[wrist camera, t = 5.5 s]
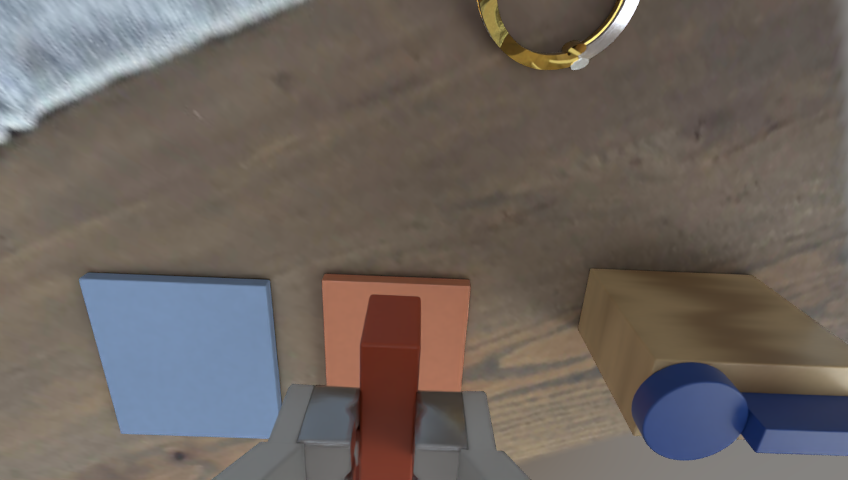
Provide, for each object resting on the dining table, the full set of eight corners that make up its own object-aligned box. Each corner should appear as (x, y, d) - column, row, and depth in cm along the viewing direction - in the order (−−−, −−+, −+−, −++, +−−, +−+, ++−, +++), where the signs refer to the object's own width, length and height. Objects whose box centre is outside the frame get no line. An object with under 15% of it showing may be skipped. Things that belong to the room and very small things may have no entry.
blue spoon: (869, 367, 19) (917, 404, 17) (830, 443, 20) (870, 484, 18) (642, 359, 18) (666, 394, 17) (621, 436, 20) (641, 476, 18)
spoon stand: (752, 274, 26) (881, 368, 19) (730, 335, 28) (841, 444, 20) (589, 267, 26) (655, 359, 18) (577, 329, 27) (633, 436, 20)
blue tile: (270, 279, 26) (265, 286, 25) (284, 430, 30) (281, 439, 30) (87, 271, 26) (77, 278, 25) (127, 424, 30) (120, 434, 30)
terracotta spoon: (309, 289, 11) (286, 340, 9) (480, 297, 11) (492, 349, 9) (320, 547, 14) (305, 621, 13) (450, 551, 15) (455, 625, 13)
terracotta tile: (469, 279, 26) (471, 286, 25) (456, 418, 30) (457, 427, 29) (324, 273, 26) (321, 280, 25) (330, 413, 30) (328, 423, 29)
